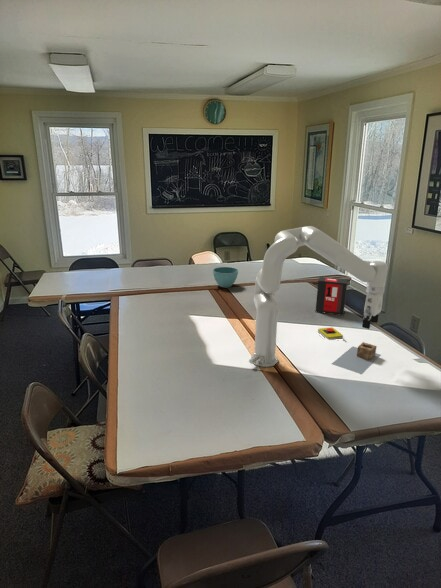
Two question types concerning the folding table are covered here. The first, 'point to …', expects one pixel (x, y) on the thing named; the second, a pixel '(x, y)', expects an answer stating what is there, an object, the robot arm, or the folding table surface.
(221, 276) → the teal rounded bowl
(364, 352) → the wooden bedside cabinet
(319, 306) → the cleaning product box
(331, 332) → the emergency button
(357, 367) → the shaft plate
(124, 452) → the folding table surface
